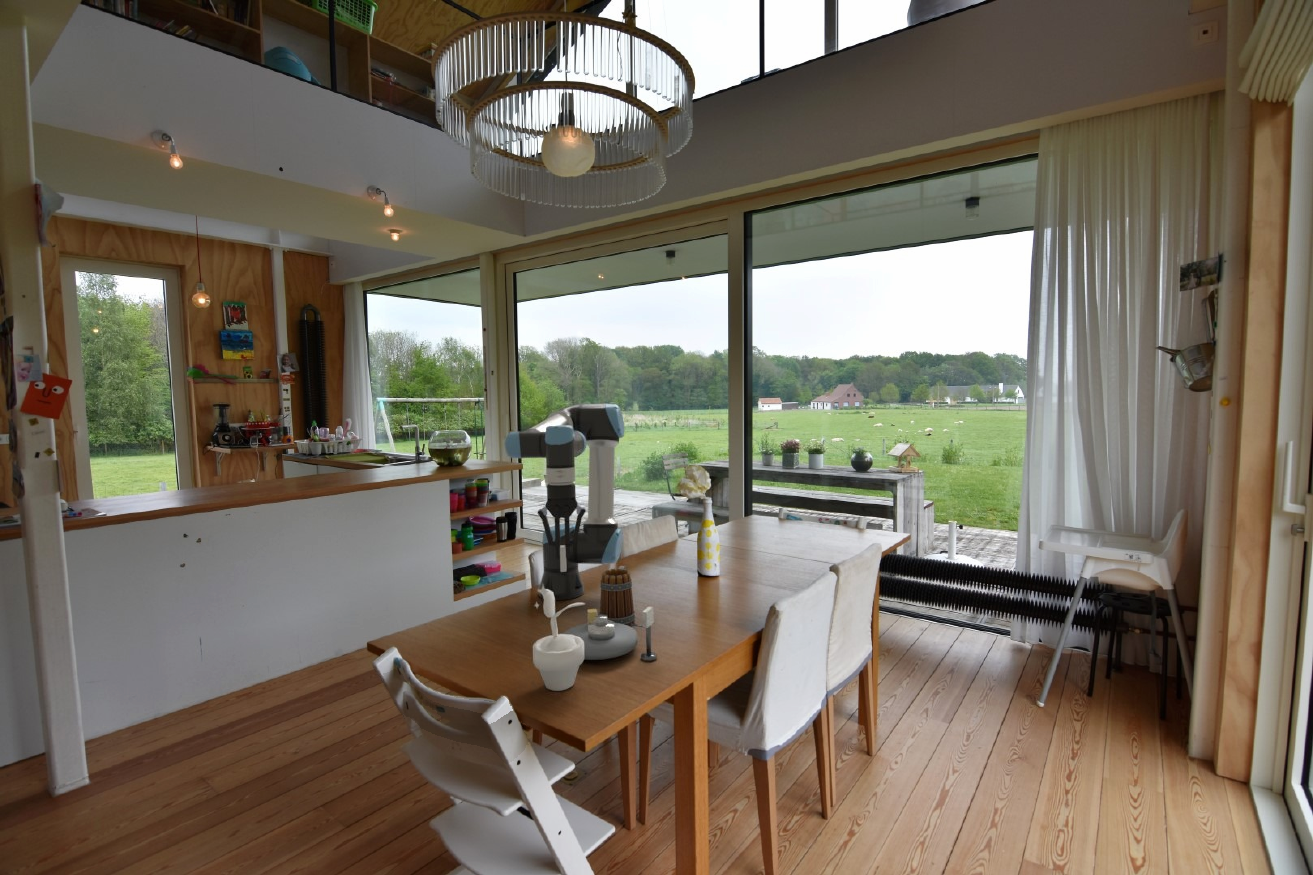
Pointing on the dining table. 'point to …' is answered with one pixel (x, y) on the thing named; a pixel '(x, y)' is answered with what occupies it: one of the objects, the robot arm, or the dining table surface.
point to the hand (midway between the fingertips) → (563, 570)
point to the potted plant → (557, 650)
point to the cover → (601, 628)
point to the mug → (617, 596)
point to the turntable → (607, 648)
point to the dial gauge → (647, 634)
